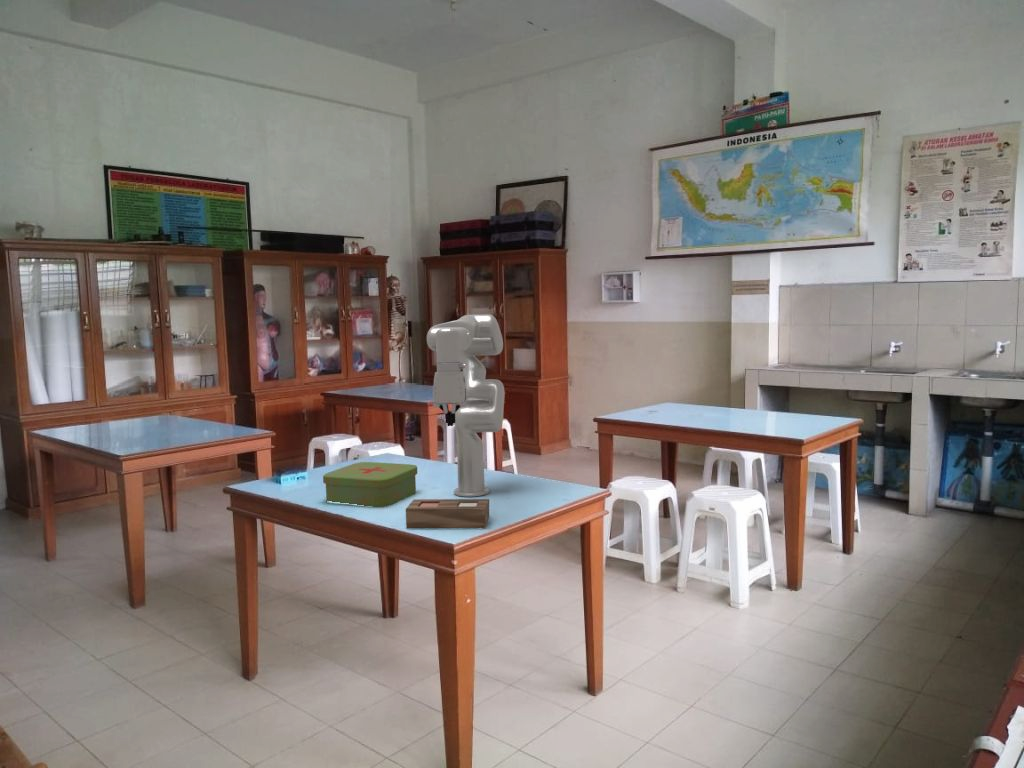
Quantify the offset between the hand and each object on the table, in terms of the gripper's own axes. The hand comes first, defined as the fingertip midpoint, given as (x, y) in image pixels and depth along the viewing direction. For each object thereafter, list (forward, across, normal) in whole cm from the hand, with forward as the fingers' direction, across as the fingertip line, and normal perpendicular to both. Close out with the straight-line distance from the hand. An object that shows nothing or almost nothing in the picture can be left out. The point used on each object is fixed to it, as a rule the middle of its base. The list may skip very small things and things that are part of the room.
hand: (450, 425), depth 240 cm
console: (+29, 0, +9) cm, 30 cm away
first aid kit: (+30, +33, -25) cm, 51 cm away
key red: (+28, +6, +9) cm, 30 cm away
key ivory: (+28, -6, +9) cm, 30 cm away
